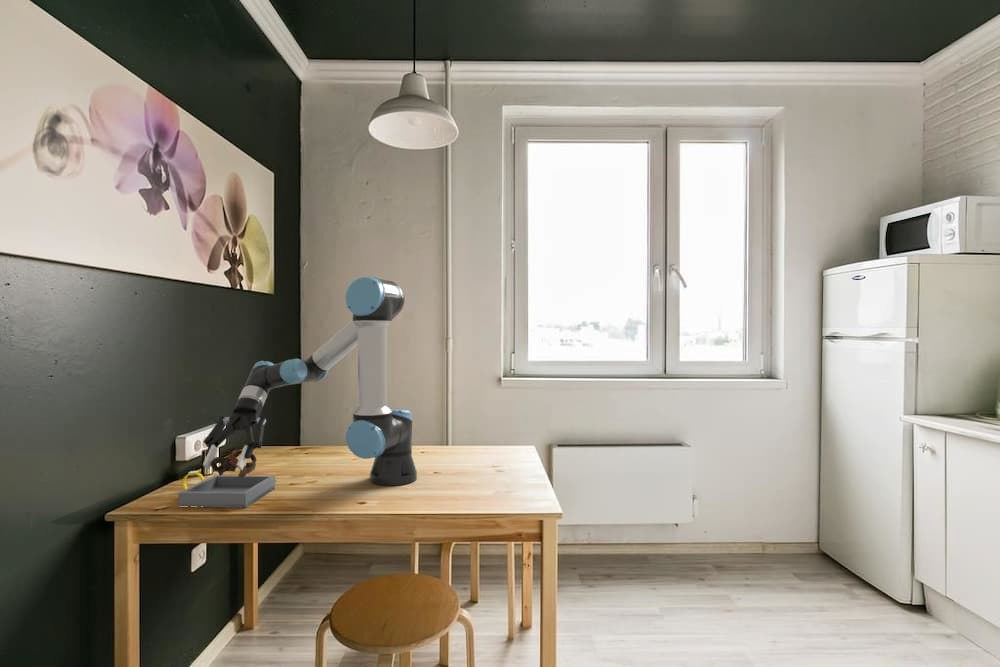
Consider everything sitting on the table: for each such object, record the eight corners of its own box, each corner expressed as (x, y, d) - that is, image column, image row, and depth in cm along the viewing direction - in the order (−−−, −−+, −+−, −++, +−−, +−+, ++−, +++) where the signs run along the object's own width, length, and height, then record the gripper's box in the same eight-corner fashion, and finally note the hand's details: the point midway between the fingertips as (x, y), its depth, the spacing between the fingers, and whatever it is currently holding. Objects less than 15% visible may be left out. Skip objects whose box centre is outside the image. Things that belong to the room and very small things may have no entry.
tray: (274, 489, 165) (274, 475, 165) (245, 508, 146) (245, 493, 146) (215, 488, 165) (215, 475, 165) (178, 507, 146) (178, 492, 146)
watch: (181, 493, 160) (180, 473, 160) (186, 491, 163) (185, 471, 163) (202, 492, 161) (200, 472, 161) (206, 489, 163) (205, 469, 163)
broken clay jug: (242, 470, 166) (254, 448, 165) (251, 490, 159) (263, 467, 158) (202, 467, 157) (214, 443, 156) (209, 488, 151) (222, 463, 149)
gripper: (288, 411, 171) (264, 475, 155) (220, 410, 171) (190, 473, 155) (281, 396, 166) (256, 460, 150) (211, 395, 166) (179, 459, 150)
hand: (222, 467), depth 152 cm, fingers closed on broken clay jug, 9 cm apart
